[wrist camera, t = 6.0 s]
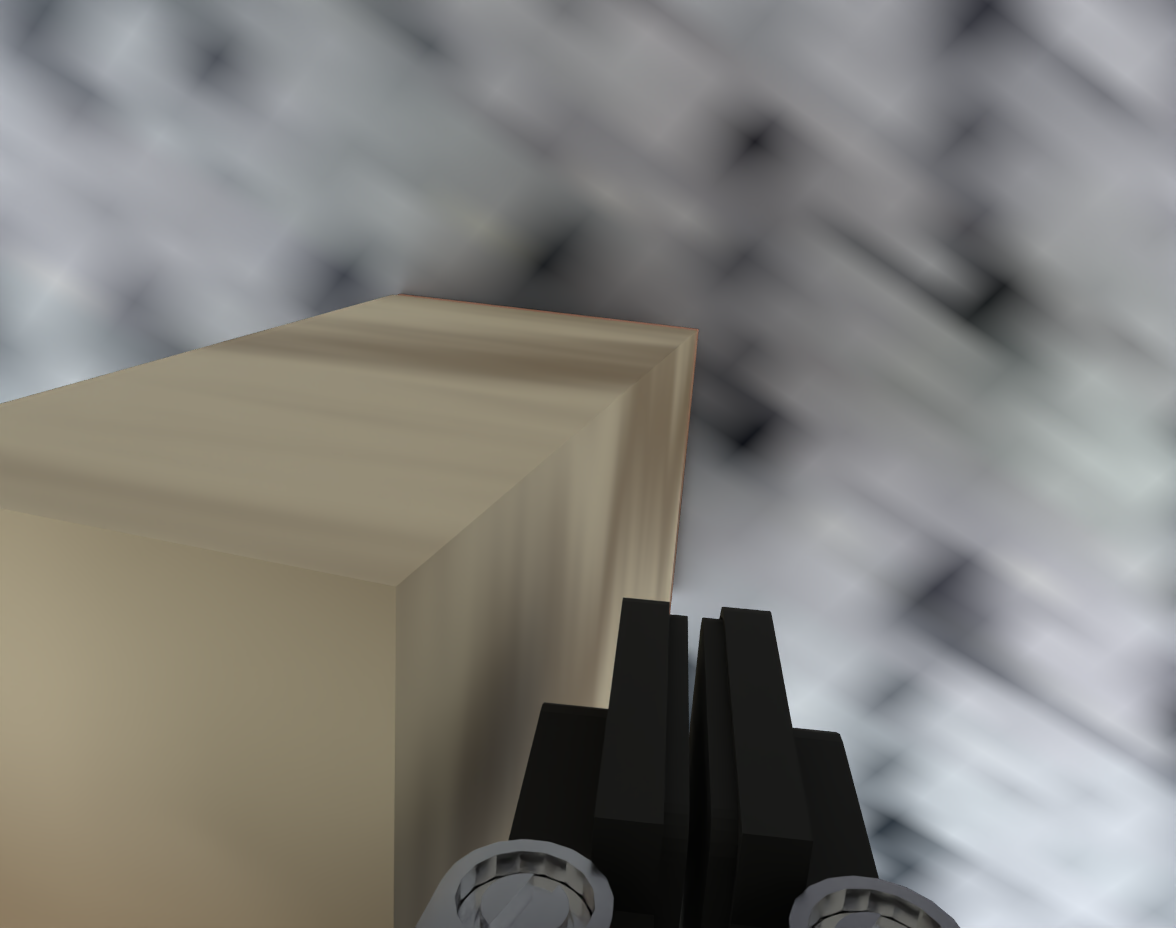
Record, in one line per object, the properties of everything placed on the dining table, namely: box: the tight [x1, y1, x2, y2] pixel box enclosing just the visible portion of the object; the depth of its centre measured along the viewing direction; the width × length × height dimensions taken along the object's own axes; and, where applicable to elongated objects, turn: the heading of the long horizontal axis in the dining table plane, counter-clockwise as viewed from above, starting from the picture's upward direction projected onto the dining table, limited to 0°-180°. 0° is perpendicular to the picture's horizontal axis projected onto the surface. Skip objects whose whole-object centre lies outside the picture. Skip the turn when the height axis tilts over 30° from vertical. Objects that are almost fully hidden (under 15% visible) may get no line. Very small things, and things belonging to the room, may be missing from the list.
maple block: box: [0, 294, 699, 928], centre depth 15 cm, size 6×6×12 cm
